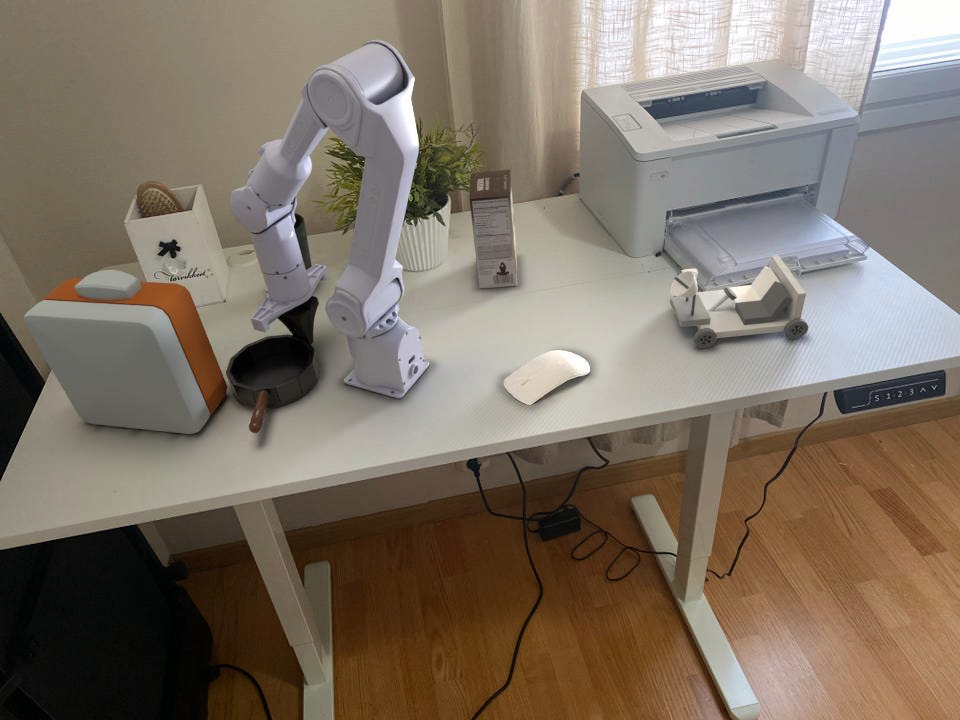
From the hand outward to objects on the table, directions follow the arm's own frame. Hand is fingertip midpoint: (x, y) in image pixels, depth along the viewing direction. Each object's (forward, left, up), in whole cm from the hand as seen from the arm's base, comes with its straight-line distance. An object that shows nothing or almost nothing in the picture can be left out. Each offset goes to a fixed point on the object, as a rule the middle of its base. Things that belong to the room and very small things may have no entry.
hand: (305, 343), depth 108 cm
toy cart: (-55, -28, -2) cm, 61 cm away
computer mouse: (-36, -7, -2) cm, 36 cm away
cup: (+12, -14, -2) cm, 18 cm away
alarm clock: (+12, +18, -2) cm, 22 cm away
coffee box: (-18, -29, -2) cm, 34 cm away
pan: (-2, +10, -1) cm, 11 cm away
